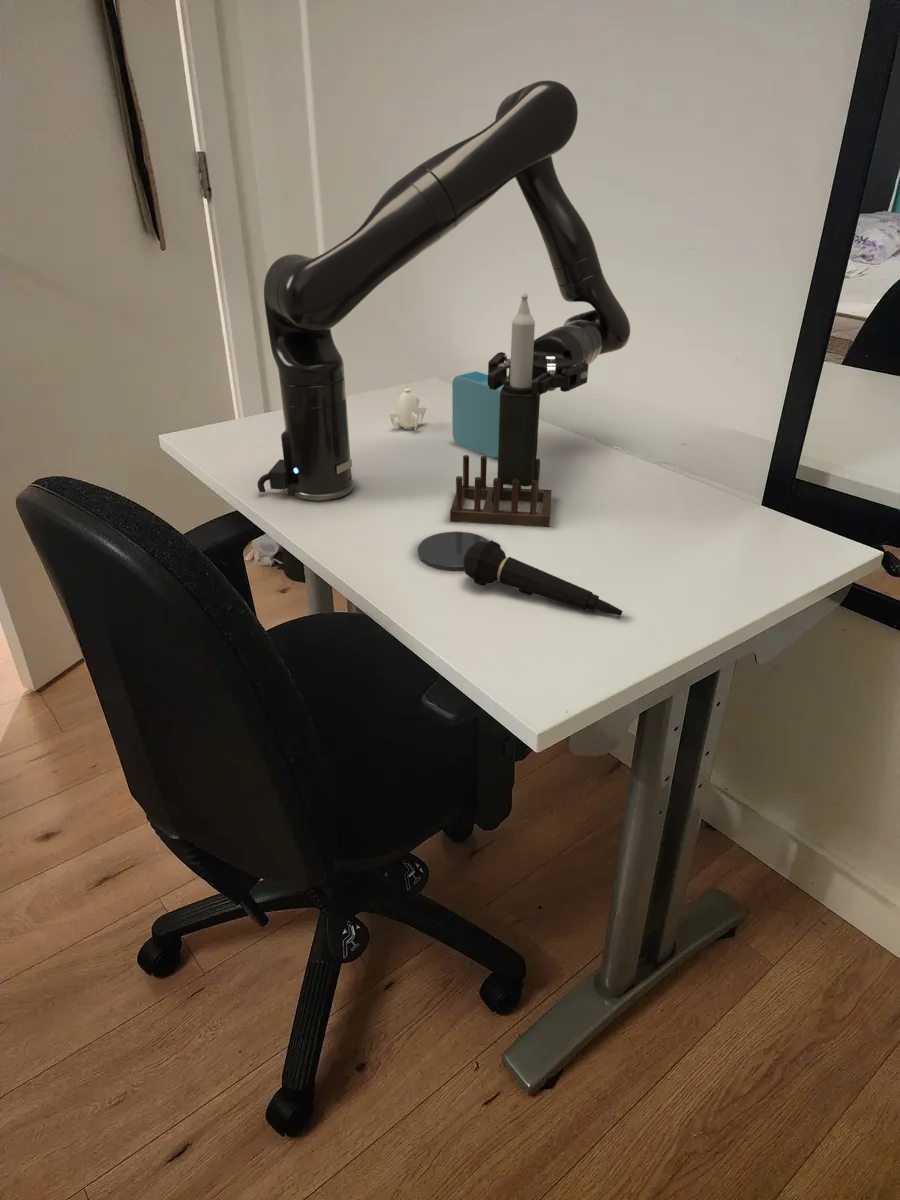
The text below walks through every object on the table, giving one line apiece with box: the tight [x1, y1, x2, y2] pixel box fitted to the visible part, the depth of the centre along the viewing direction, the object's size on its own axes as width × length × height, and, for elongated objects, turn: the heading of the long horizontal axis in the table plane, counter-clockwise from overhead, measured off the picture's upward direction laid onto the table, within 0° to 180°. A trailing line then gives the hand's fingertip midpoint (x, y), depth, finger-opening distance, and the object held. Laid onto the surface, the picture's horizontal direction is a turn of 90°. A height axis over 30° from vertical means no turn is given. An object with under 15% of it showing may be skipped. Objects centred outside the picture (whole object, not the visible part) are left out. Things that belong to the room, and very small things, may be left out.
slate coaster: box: [417, 531, 490, 572], centre depth 105 cm, size 10×10×1 cm
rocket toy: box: [388, 387, 427, 431], centre depth 146 cm, size 5×5×8 cm
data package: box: [451, 371, 504, 459], centre depth 135 cm, size 12×4×12 cm, turn 41°
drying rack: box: [449, 454, 553, 528], centre depth 115 cm, size 14×9×6 cm
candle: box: [496, 293, 541, 487], centre depth 107 cm, size 5×5×25 cm
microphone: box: [463, 539, 623, 617], centre depth 94 cm, size 6×6×20 cm
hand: (513, 385), depth 104 cm, fingers closed on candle, 5 cm apart
